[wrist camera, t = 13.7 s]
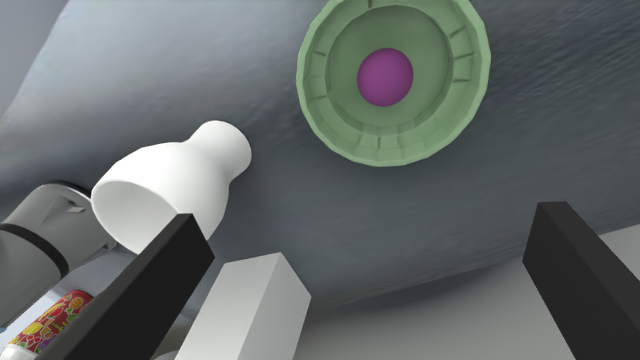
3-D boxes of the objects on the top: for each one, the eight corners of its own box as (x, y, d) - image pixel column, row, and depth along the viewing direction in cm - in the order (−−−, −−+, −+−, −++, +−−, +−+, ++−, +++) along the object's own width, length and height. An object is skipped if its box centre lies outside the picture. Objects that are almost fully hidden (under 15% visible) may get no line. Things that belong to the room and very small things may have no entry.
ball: (362, 100, 30) (356, 116, 26) (357, 48, 27) (350, 57, 23) (412, 95, 28) (414, 111, 24) (412, 40, 26) (414, 48, 22)
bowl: (323, 145, 34) (313, 170, 29) (298, -4, 26) (277, -4, 21) (462, 135, 30) (477, 162, 25) (479, -42, 22) (506, -54, 17)
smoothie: (107, 309, 69) (20, 407, 53) (80, 306, 71) (-12, 399, 55) (88, 287, 65) (-12, 386, 48) (60, 284, 67) (-46, 378, 50)
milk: (280, 251, 46) (189, 477, 24) (311, 296, 50) (257, 517, 29) (224, 263, 50) (104, 461, 29) (257, 303, 55) (176, 498, 33)
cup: (253, 108, 33) (174, 174, 21) (268, 184, 39) (214, 271, 26) (174, 109, 35) (59, 169, 23) (199, 180, 41) (118, 260, 28)
